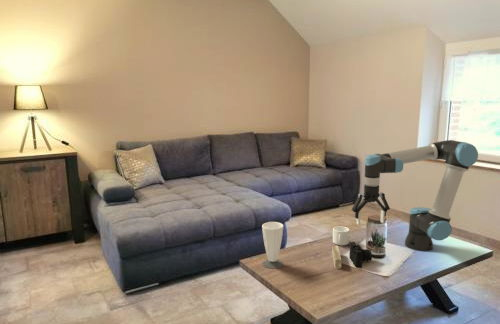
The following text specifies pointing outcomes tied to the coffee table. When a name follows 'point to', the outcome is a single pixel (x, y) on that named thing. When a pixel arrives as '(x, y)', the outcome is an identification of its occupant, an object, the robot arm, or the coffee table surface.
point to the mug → (341, 235)
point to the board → (336, 257)
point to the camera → (359, 255)
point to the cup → (272, 243)
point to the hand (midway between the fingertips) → (370, 223)
